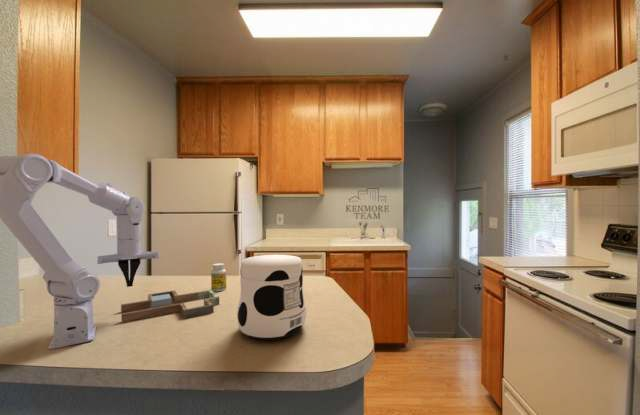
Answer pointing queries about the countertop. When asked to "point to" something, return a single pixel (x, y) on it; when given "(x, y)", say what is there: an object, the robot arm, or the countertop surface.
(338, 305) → the countertop surface
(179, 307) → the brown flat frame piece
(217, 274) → the supplement bottle
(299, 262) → the milk container
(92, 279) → the robot arm
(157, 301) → the block
